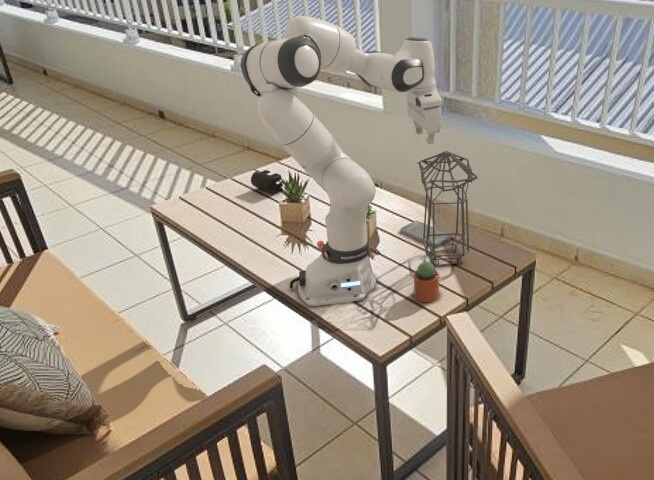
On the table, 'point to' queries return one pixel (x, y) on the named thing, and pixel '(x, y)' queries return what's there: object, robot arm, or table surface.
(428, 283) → the succulent pot
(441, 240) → the phone
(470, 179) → the geometric lantern
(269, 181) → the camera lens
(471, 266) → the table surface
